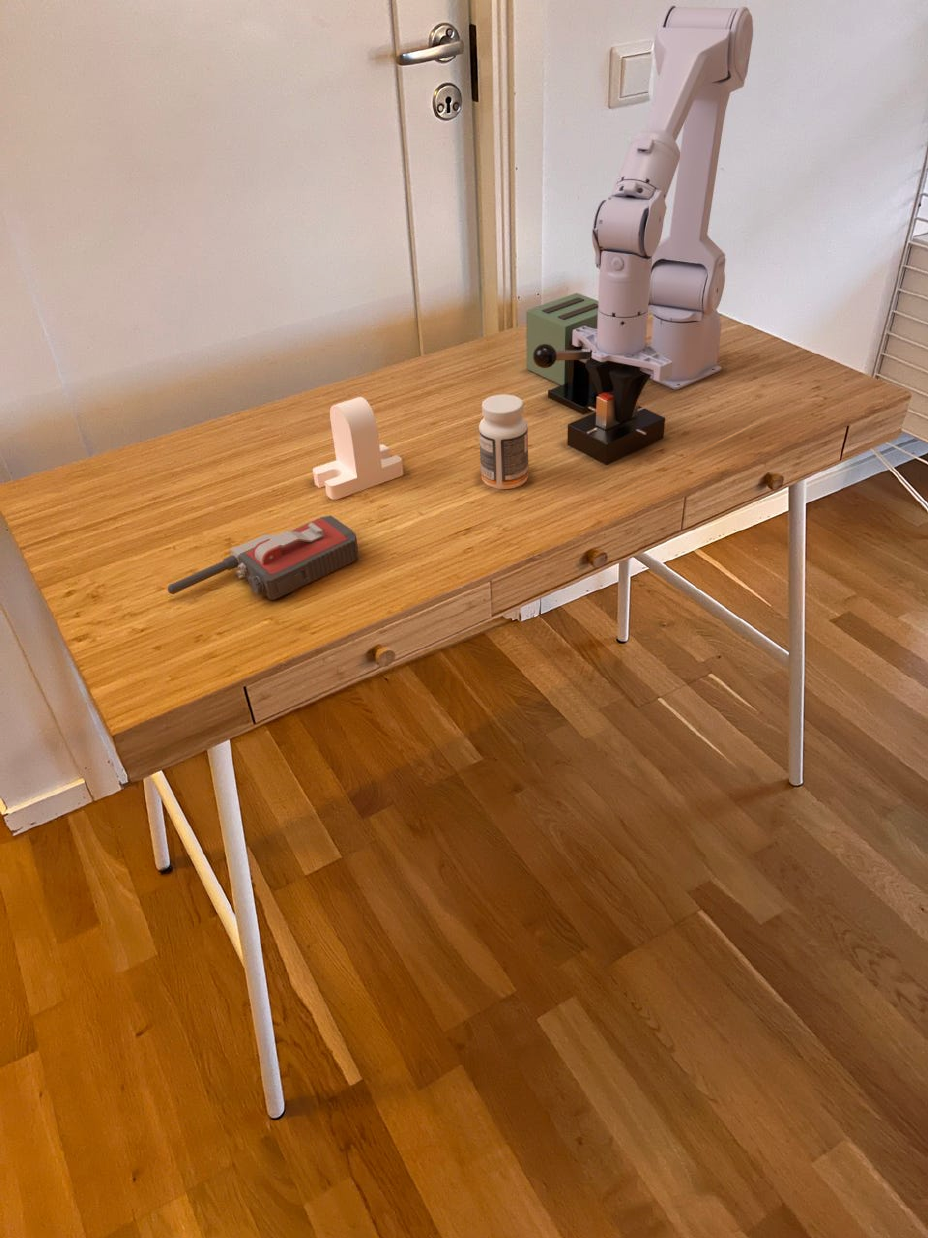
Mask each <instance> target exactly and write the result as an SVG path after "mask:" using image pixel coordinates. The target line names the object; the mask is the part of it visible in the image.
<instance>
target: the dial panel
mask: <svg viewBox="0 0 928 1238" xmlns="http://www.w3.org/2000/svg"><path fill="white" fill-rule="evenodd" d="M588 408H589V409H591V410H593V411H592V412H593V413H590V414H588V415H586V416H584V417H581V418H579V419H576V420H574V421H572V422H570V423H568V424H567V439H566V440H567V442H566V445H567V446H568V447H570V448H573V449H575V450H577V451H578V452H581V453H582V454H584V455H585V456H588V457H589V458H591V459H593V460H596V462H597V461H598V463H601V464H603V465H605V466H608V465H610V464H612V463H614V462H617V461H618V460H621V459H623V458H625V457H627V456H629V455H632V454H633V453H635V452H638V451H640V450H643V449H644V448H646V447H648V446H651V445H652V444H655V443H658V442H659V441H660V440H661V441H662V440H663V439H664V436H665V426H666V417H664V416H662V415H660V414H659V413H655V412H653V411H651V410H650V409H647V408H646V407H644V406H640V405H638V414H637V416H636V417H633V418H631V419H629V420H627V421H625V422H622V423H620V424H618V425H616V426H613V427H611V428H609V429H607V430H605V429H603V428H601V427H599V426H597V425H596V409H595V408H593V407H591V406H590V407H588Z"/></svg>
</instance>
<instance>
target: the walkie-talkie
mask: <svg viewBox="0 0 928 1238" xmlns="http://www.w3.org/2000/svg"><path fill="white" fill-rule="evenodd" d="M230 554H231V555H230V556H227V557H225V558H223V560H221V561H219V562H217V563H215V564H213V565H211V566H208V567H206V568H203V569H202V570H200V571H197V572H195V573H193V574H190V575H189V576H186V577H184V578H181V579H180V580H177V581H176V582H175V581H174V582H172V583H171V584H169V585H168V586H167V591H168V593H169V594H170V595H175V594H177V593H180V592H181V591H184V590H186V589H188V588H191V587H193V586H195V585H197V584H199V583H201V582H203V581H206V580H208V579H210V578H212V577H214V576H216V575H219V574H221V573H223V572H225V571H230V570H233V569H236V568H238V570H236V575H237V577H238V579H242V578H245V580H246V581H248V584H249V587H250V588H251V590H252V592H253V593H254V594H256V595H261V594H263V595H264V596H265V597H267V599H269V600H277V599H279V598H281V597H283V596H285V595H287V594H289V593H291V592H294V591H295V590H298V589H299V588H301V587H304V586H306V585H307V584H310V583H311V582H314V581H316V580H318V579H320V578H322V577H324V576H326V575H329V574H330V573H332V572H334V571H337V570H338V569H341V568H342V567H345V566H346V565H349V564H350V563H353V562H355V561H357V560H358V558H359V556H360V554H359V545H358V539H357V535H356V533H355V532H354V530H352V529H351V528H349V527H348V526H347V525H345V524H344V523H343V522H341V521H339V519H337V518H335V517H334V516H332V515H326V516H321V517H319V518H316V519H315V520H312V521H310V522H308V523H306V524H305V523H304V524H302V525H300V526H298V527H296V528H295V529H292V530H285V531H283V532H281V533H271V534H263V535H260V536H259V537H256V538H254V539H252V540H250V541H247V542H245V543H242V544H240V545H236V546H234V547H231V548H230Z"/></svg>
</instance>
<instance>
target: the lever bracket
mask: <svg viewBox="0 0 928 1238" xmlns="http://www.w3.org/2000/svg"><path fill="white" fill-rule="evenodd" d="M572 343H573V339H571V340H569V350H581V349H582V346H580V347H576V346H574V345H572ZM592 352H593V351H592V350H591V349H590V359H591V358H592ZM597 397H598V393H597V390H596V387H595V384H594V381H593V379H592V377H591V375H590V373H589V371H588V370H587V368H586V363H584V362H581V361H579V360H569V373H568V383H565V384H563V385H558V386H555V387H553V388H550V389H549V390H547V398H548V399H550V400H551V401H554V402H556V403H558V404H560V405H561V406H564V407H566V408H567V409H570V410H573V411H575V412H576V413H578V414H581V415H582V416H583V415H586V414H589V413H591V412H594V411H593V410H591V409H589V408H588V407H590V406H591V407H593V408H595V409H596V405H597Z"/></svg>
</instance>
